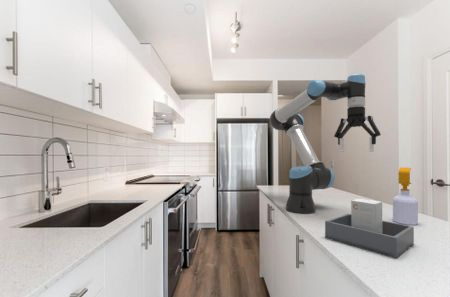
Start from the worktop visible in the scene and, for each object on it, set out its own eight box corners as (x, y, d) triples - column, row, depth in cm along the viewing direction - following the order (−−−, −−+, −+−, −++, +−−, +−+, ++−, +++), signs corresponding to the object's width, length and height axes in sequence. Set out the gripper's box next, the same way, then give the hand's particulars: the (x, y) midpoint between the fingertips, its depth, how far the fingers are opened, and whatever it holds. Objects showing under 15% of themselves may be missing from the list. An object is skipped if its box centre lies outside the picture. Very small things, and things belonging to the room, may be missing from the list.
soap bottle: (418, 222, 110) (418, 167, 110) (416, 226, 103) (416, 168, 104) (394, 218, 116) (394, 166, 116) (391, 222, 109) (391, 167, 110)
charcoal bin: (325, 237, 88) (325, 221, 89) (347, 228, 100) (347, 213, 100) (396, 258, 71) (396, 238, 72) (413, 244, 83) (413, 226, 83)
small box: (382, 239, 85) (382, 201, 85) (375, 243, 81) (375, 203, 81) (358, 233, 91) (358, 198, 91) (350, 236, 87) (350, 200, 87)
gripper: (327, 109, 124) (327, 151, 124) (382, 102, 105) (382, 151, 104) (334, 111, 129) (334, 151, 129) (388, 104, 109) (388, 151, 109)
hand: (355, 151), depth 116 cm, fingers open, 13 cm apart
